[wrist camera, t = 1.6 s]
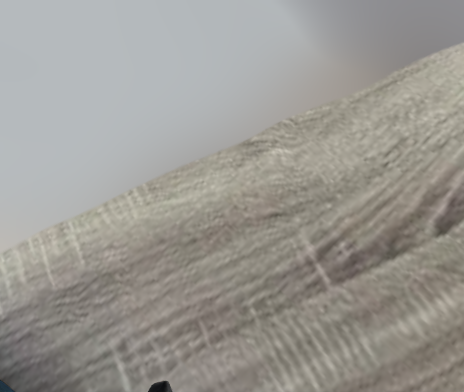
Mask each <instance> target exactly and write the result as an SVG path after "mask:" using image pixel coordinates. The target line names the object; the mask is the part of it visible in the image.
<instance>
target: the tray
mask: <svg viewBox="0 0 464 392" xmlns="http://www.w3.org/2000/svg"><path fill="white" fill-rule="evenodd" d="M0 392H14V391H13V390H12V389H11V388H10V387H8V386H7V385H6V384H5V383H3V382H2V381H1V380H0Z"/></svg>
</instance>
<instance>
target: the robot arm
mask: <svg viewBox="0 0 464 392" xmlns="http://www.w3.org/2000/svg"><path fill="white" fill-rule="evenodd" d="M148 392H172V390H171V387H170V384H169V383H168V381H162V382H158V383H154V384H153V385H152V386H151V387H150V389H149V391H148Z"/></svg>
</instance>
